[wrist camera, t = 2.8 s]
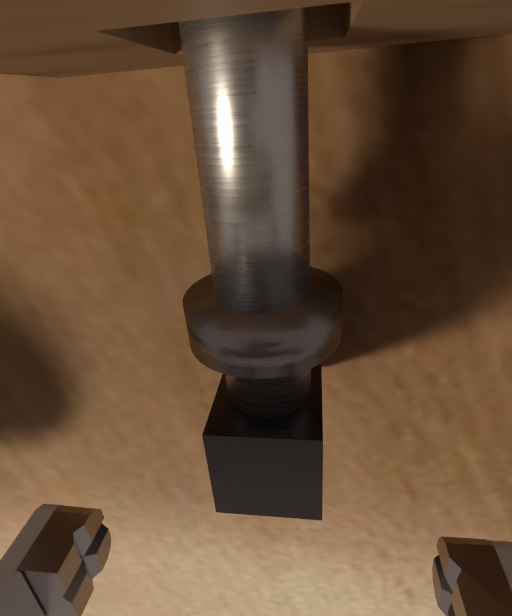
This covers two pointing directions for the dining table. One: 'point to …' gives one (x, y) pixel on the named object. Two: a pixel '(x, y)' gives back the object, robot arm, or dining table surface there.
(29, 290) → the dining table surface
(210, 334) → the metal shaft with collar
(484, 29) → the block
